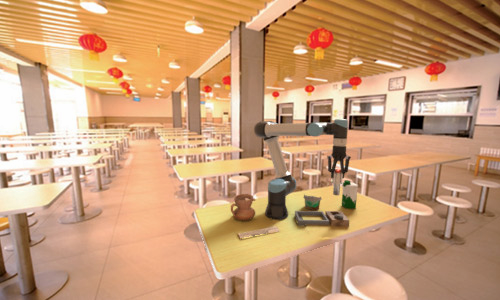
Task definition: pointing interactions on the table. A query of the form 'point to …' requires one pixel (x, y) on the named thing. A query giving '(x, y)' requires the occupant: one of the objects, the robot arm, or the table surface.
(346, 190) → the milk carton
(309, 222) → the tray
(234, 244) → the table surface
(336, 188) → the pin
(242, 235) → the newspaper
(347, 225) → the block
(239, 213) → the ceramic jug
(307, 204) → the half moon wedge
